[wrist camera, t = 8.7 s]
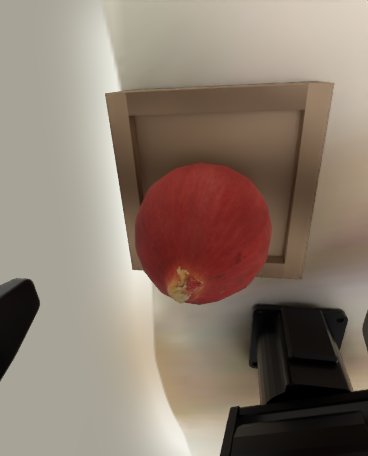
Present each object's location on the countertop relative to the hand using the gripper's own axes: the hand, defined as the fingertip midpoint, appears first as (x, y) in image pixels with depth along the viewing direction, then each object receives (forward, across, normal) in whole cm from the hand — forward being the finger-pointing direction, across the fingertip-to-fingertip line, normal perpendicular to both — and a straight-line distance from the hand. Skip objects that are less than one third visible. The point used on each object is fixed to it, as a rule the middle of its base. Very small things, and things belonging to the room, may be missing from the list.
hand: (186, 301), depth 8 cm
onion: (+9, 0, +1) cm, 9 cm away
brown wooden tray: (+12, 0, 0) cm, 12 cm away
